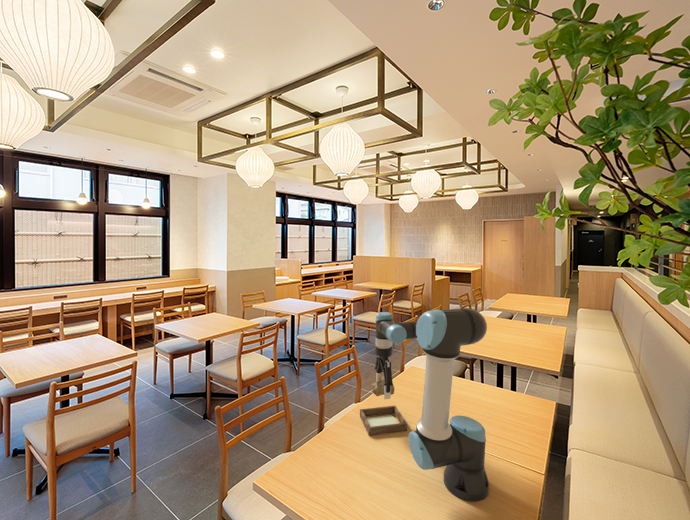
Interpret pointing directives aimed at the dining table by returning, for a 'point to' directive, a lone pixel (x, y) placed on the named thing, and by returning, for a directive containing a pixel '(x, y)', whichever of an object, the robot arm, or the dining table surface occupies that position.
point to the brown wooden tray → (383, 428)
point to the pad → (381, 420)
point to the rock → (380, 387)
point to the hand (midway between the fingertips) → (383, 392)
